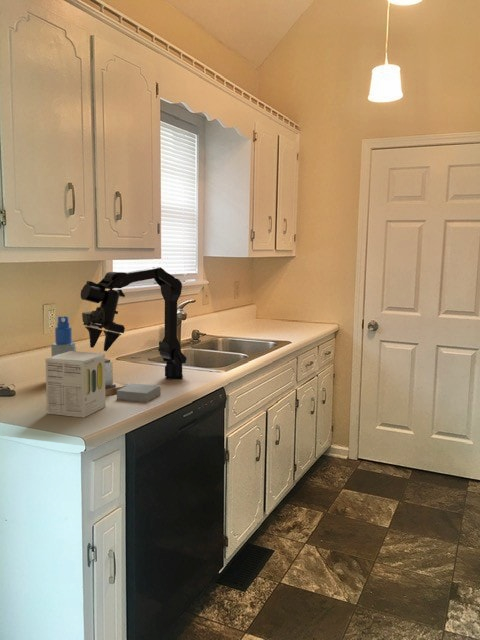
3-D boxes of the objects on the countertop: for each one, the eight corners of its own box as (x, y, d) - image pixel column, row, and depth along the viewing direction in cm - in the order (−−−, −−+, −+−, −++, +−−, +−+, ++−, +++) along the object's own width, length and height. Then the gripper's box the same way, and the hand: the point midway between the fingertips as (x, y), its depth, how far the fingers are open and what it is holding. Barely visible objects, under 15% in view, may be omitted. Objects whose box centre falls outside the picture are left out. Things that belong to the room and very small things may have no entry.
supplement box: (84, 418, 160) (82, 360, 158) (45, 414, 164) (44, 357, 162) (106, 406, 173) (105, 353, 171) (70, 402, 176) (69, 350, 174)
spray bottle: (76, 382, 204) (75, 317, 201) (51, 383, 201) (49, 317, 198) (76, 377, 212) (75, 314, 209) (52, 378, 210) (51, 315, 207)
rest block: (132, 391, 192) (132, 383, 191) (160, 394, 189) (160, 385, 188) (116, 399, 181) (116, 390, 181) (146, 402, 178) (146, 393, 178)
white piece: (106, 382, 192) (105, 358, 191) (112, 384, 190) (112, 359, 189) (96, 384, 189) (96, 359, 188) (103, 386, 187) (102, 361, 186)
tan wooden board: (116, 386, 199) (116, 378, 198) (130, 390, 193) (130, 382, 193) (88, 392, 190) (88, 384, 189) (101, 396, 184) (101, 388, 184)
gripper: (75, 299, 192) (65, 342, 190) (102, 303, 178) (91, 349, 177) (102, 306, 199) (92, 347, 198) (130, 310, 186) (119, 354, 185)
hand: (98, 349), depth 189 cm, fingers open, 9 cm apart
